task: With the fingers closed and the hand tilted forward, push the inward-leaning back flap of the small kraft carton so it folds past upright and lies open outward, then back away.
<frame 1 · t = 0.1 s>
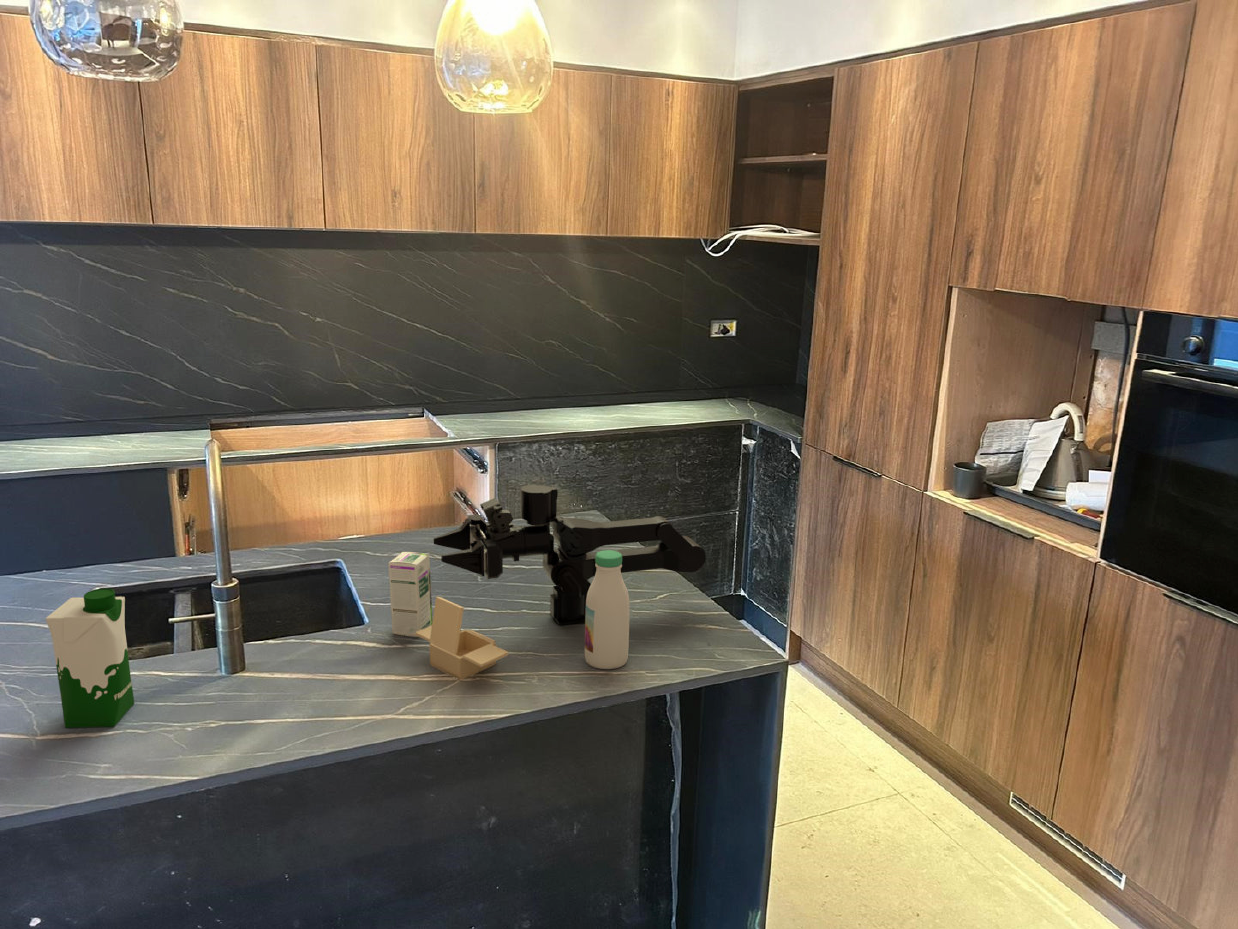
hand: (437, 549, 164), 17 cm above the counter, tool horizontal, fingers open, 9 cm apart
syrup box: (412, 630, 170), on the counter
milk carton: (100, 716, 138), on the counter
milk bottle: (606, 661, 160), on the counter
back flap: (446, 625, 152), point 9 cm above the counter, hinge at -12.0°
carton: (463, 664, 157), on the counter
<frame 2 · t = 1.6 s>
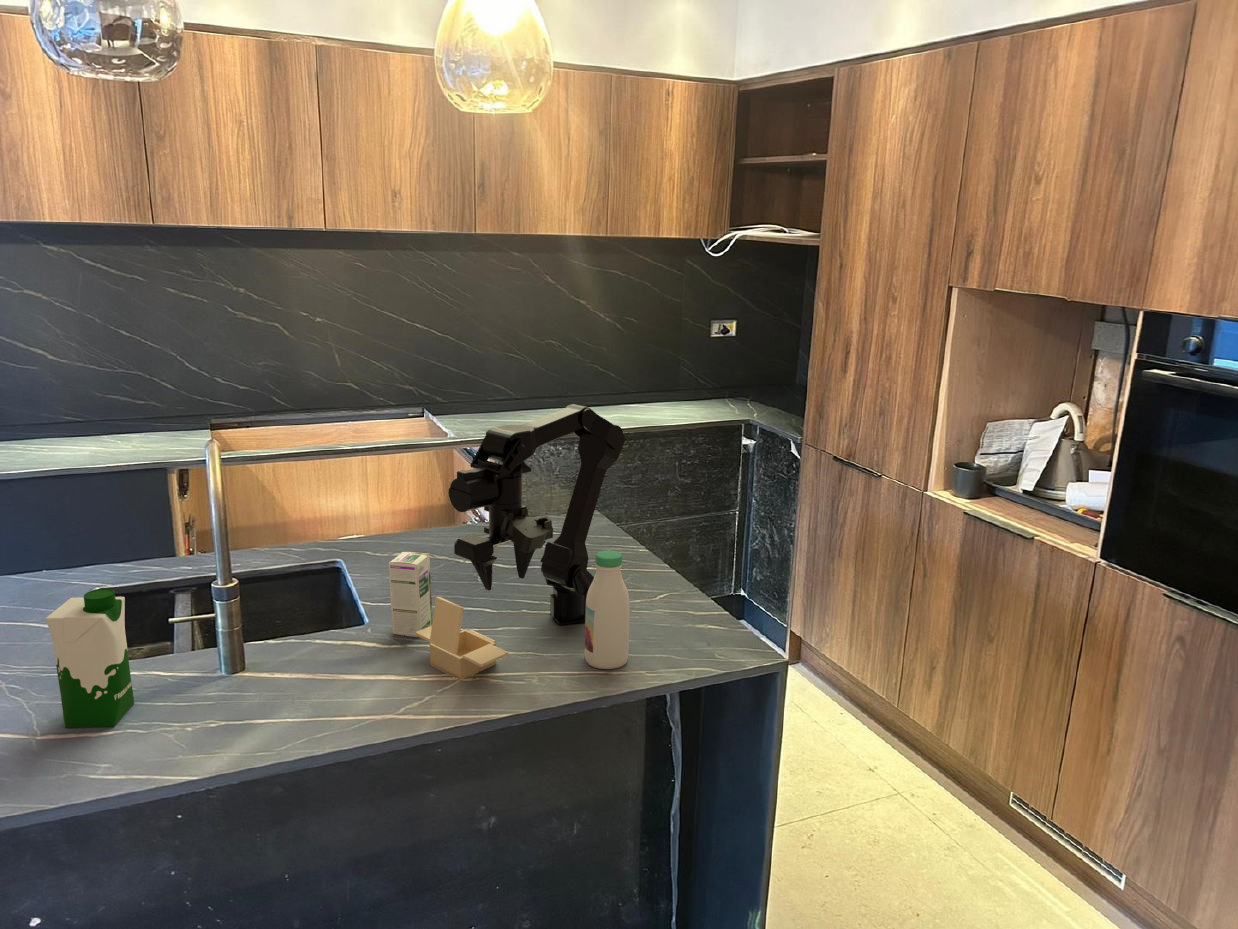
hand: (505, 583, 161), 12 cm above the counter, tool pointing down, fingers open, 8 cm apart
nothing on the counter moved.
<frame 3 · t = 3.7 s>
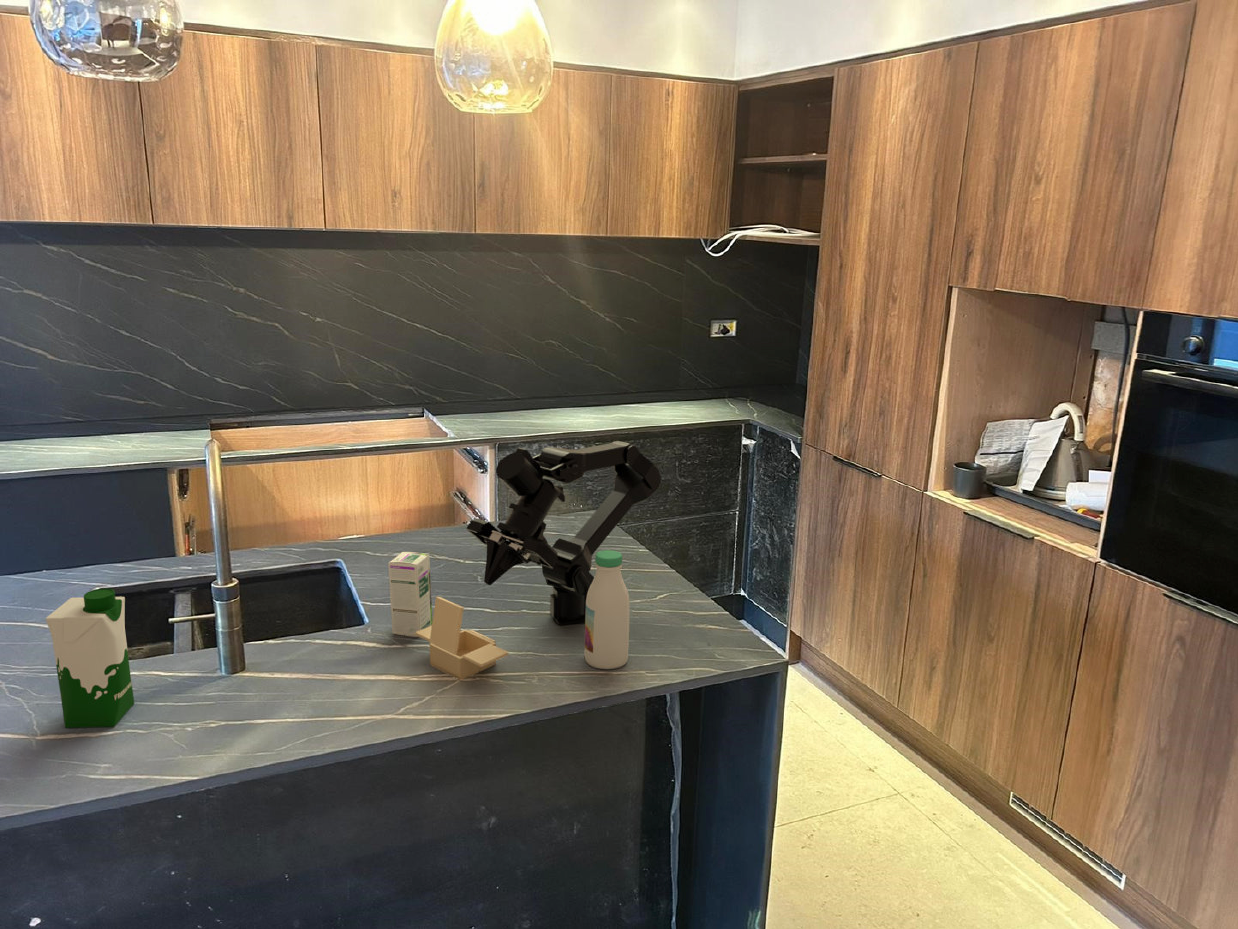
hand: (487, 583, 158), 13 cm above the counter, tool tilted 45°, fingers closed
nothing on the counter moved.
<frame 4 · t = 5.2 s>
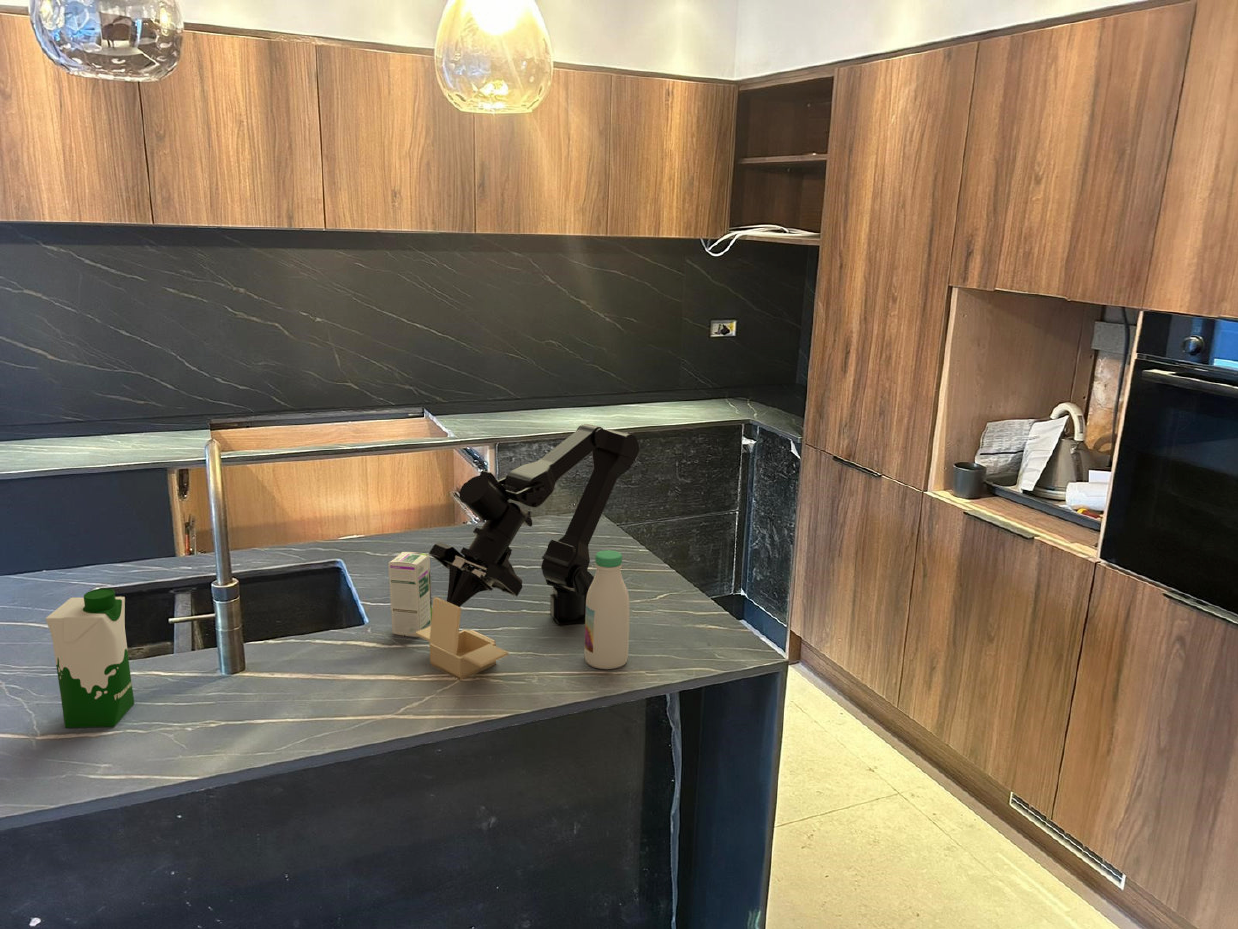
hand: (448, 611, 152), 11 cm above the counter, tool tilted 45°, fingers closed, pressing on back flap
back flap: (445, 625, 152), point 9 cm above the counter, hinge at -8.2°, touching gripper
everything else where it was.
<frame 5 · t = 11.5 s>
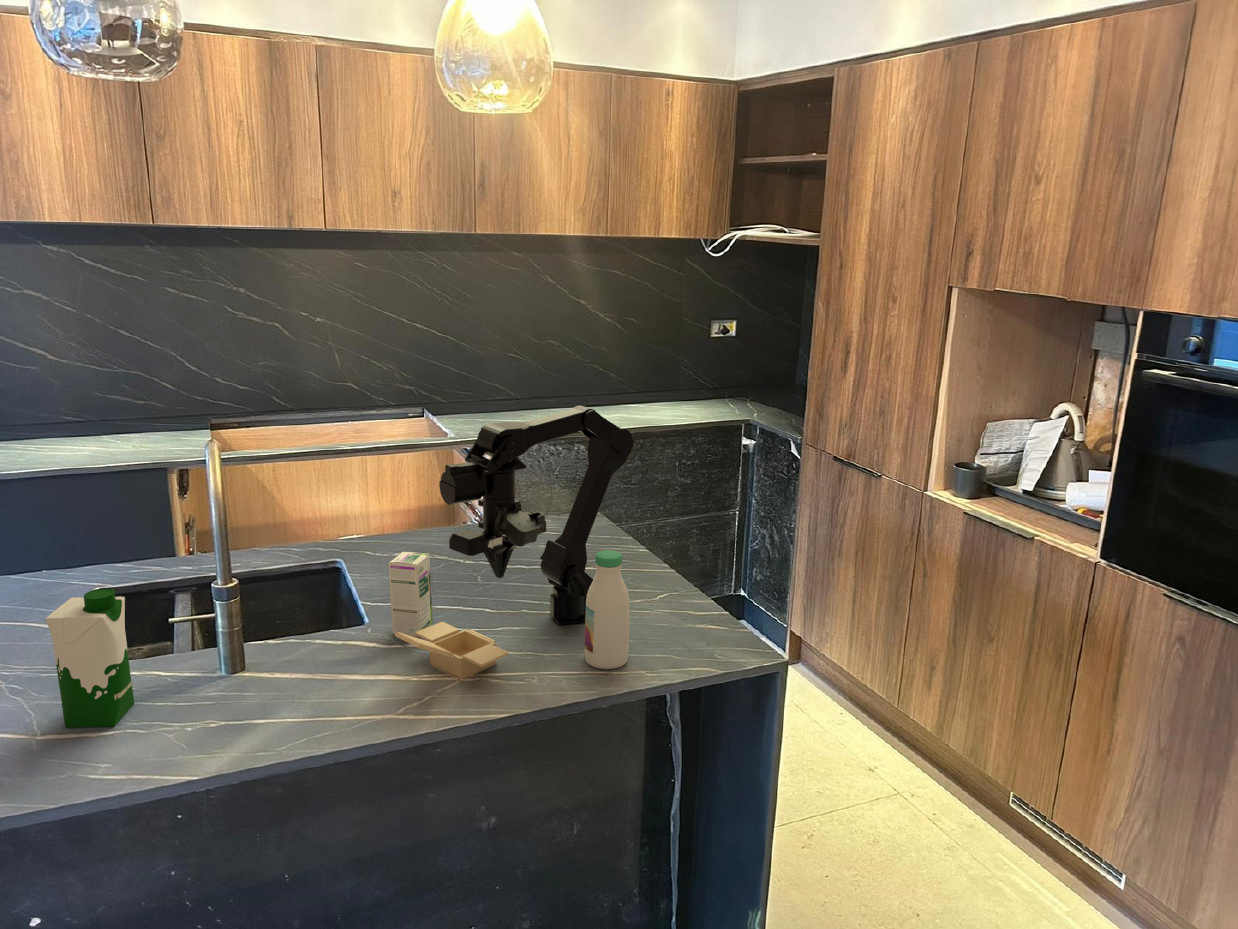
hand: (499, 577, 164), 12 cm above the counter, tool pointing down, fingers closed
back flap: (424, 644, 149), point 7 cm above the counter, hinge at 57.7°
everything else where it was.
at the end: back flap at +58° (first picture: -12°); the gripper is holding nothing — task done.
